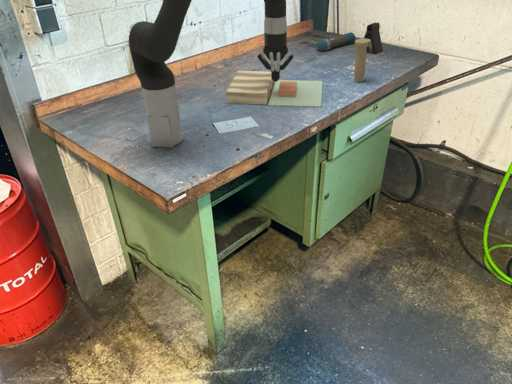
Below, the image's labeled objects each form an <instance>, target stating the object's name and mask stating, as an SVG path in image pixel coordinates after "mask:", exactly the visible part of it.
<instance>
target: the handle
mask: <svg viewBox="0 0 512 384" xmlns="http://www.w3.org/2000/svg"><path fill="white" fill-rule="evenodd" d="M370 41H371V40H370V39H366V38H364V37H363V38H358V39H355V41H354V46H355V47H357V49H356V54H355V55H356V56H355V61H354V71H353V72H354V75H353V77H354V82H356V83H363V81H364V77H365V74H366V73H365V72H366V64H367V63H366V62H367V53H366V50H367V47H368V46H369V47H370V45H371V43H370Z"/></svg>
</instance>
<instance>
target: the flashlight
mask: <svg viewBox="0 0 512 384" xmlns="http://www.w3.org/2000/svg"><path fill="white" fill-rule="evenodd" d="M355 41H356V35H355V33H354V32H351V31H350V32H347V33H344V34H343V35H339V36H336V37H332V38H329V39H328V38H324V39H321V40H319V41H318V42H317V43H316V47H317V50H318V51H320V52H326V51H329V50H331V49H333V48H336V47H340V46H344V45H349V44H352V43H355Z"/></svg>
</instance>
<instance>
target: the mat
mask: <svg viewBox="0 0 512 384" xmlns="http://www.w3.org/2000/svg"><path fill="white" fill-rule="evenodd" d="M281 81H287V82H297V90H296V97H278V90H279V86H280V82H281ZM323 82H324V81H322V80H299V79H298V80H295V79H294V80H293V79H291V80H290V79H288V80H287V79H279V80H278V81H277V82H274V84H273V87H272V90H271V93H270V96H269V99H268V102H267V106H268V107H269V106H271V107H295V108H296V107H302V108H303V107H305V108H322V97H323Z"/></svg>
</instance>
